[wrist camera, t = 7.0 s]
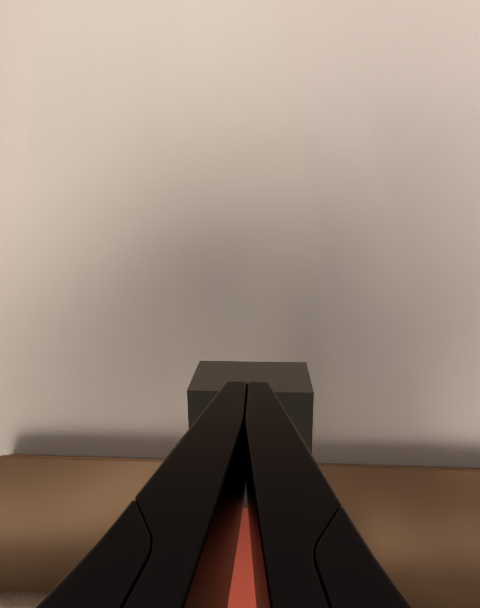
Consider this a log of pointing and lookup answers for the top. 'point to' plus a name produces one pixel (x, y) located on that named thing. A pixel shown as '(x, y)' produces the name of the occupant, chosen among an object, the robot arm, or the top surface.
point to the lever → (299, 406)
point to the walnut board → (342, 477)
